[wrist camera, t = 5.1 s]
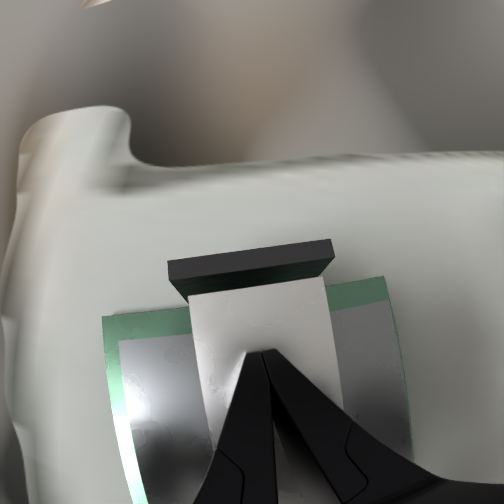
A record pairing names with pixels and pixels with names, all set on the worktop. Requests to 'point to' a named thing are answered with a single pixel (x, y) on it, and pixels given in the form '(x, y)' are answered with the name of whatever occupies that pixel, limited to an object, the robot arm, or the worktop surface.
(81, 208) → the worktop surface
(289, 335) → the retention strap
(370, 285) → the green grey square block
